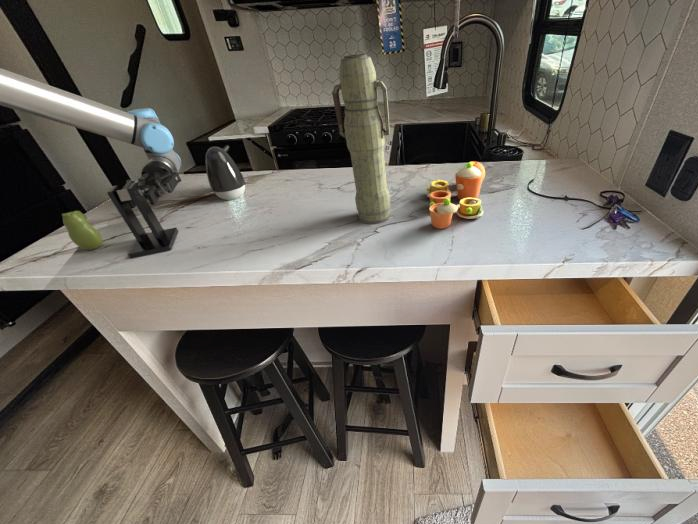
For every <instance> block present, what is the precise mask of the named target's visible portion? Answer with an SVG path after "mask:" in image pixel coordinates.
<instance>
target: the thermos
mask: <svg viewBox="0 0 698 524" xmlns="http://www.w3.org/2000/svg"><path fill="white" fill-rule="evenodd" d="M339 63H340V64H339V72H338V73H339V75H338V76H339V83H338V84H335V85H334V87H333V89H332V92H331V96H332V100H333V101H332V102H333V105H334V112H335V116H336V121H337V126H338V134H339V135H340V136H341V137H343V138H344V139H345V142H346V147H347V150H348V152H349V153H350V154H349V155H350V160H351V166H352V173H353V178H354V179H353V181H354V186H355V192H356V193H355V197H354V199H355V206H356V211H357V214H358V220H359V222H360V223H361V222H362V223H363V224H369V225H373V224H382V223H384V222H386V221H388V220H389V219H391V217H392V212H391V206H392V205H391V194H390V191H389V188H388V185H387V173H386V172H387V171H386V162H385V150H384V149H385V145H386V140H385V137H386V136H389V135H390V132H391V131H390V130H391V129H390V127H391V126H390V115H389V114H390V113H389V101H388V99H389V98H388V88H387V86H386V85H385V83H384V82H383V80H379V79H377V73H376V72H377V71H376V69H375V66H374V63H373V60H372V57H371V56H369V55H367V53H359V54H350V55H343V58H340V62H339ZM378 87H380V89H381V90H382V100H383V111H384V119H383V117H382V114H381V112H380V105H379V104H378V99H379V94H378V93H379V92H378ZM340 90H341V96H342V97H341V98H342V102H343V103H344V108H343V110H344V117H343V112H342V105H341V99H340ZM343 118H344V119H343ZM384 122H385V123H384ZM384 125H385V127H384Z"/></svg>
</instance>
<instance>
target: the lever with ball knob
mask: <svg viewBox="0 0 698 524" xmlns="http://www.w3.org/2000/svg"><path fill="white" fill-rule="evenodd" d="M138 186H139V187H140V189H141V191H142V193H143V195H144V196H145V198H146V200H147V201H149V199H148V198H147V196H146V194H147V193H148V191H149V190H150V188H151V187H150V186H149V185H146V184H140V185H138ZM117 194H118V196H119V198H120V200H121V201H127V200H133V199H132V197H131V195H130V194H129V192H128V190H127V189H123V190H122V189H120V190H117Z"/></svg>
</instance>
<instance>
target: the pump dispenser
mask: <svg viewBox="0 0 698 524" xmlns="http://www.w3.org/2000/svg"><path fill="white" fill-rule="evenodd" d="M230 148H231V147H230V146H229V145H228V144H226V145H225V146H224V147H223V148H221V147H219V146H210V147H209V148H208V149H207V151H206V153H205V173H206V176H207V177H206V178H207V181H208V184H209V186H210V189H211V191H212V192H213V193H214V194H215V195H216V196H217V197H218V198H220V199H222V200H226V201H233V200H237V199H240V197H242V196H243V195H244V193H245V190H246V180H245V178H244V176H243V174H242V172H241V170H240V168H239V167H238V165H237V163H236V162H235V160H234V159H233V158H232V157H231V156H230V154H229V153H228V151H229V150H230Z"/></svg>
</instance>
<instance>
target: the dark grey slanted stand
mask: <svg viewBox="0 0 698 524" xmlns="http://www.w3.org/2000/svg"><path fill="white" fill-rule="evenodd" d="M117 190H121V189H120V187H119V185H112V187H110V188H109V190H107V191H106V194H107V195H108V197H109V199H110V200H111V202H112V204H113V205H114V207H115V208H116V210H117V211H118V213H119V215H120V216H121V218H122V219H123V221H124V222H125V224H126V226H127V227H128V228H129V230H130V232H131V233H132V235H133V236H134V238H135V242H134V243H133V245H132V247H131V248H130V250H129V252H128V253H127V255H128V257H129V259H136V258H140V257H143V256H149V255H154V254H155V255H156V254H159V253H164V252H170V251H172V249H173V247H174V244H175V241H176V239H177V236H178V234H179V230H178V228H177V227H171V228H166V229H164V228H163V227H162V225H161V223H160V221H159V219H158V217H157V215H156V214H155V213H154V210H153V209H152V207H151V205H150V202H149V201H148V200H146V198H145V196H144V195H143V193H142V191H141V189H140V187H139V186H138V184H137V182H135V183H132V184H131V185H130V186H129V187H128V188H127V190H128V192H129V194H130V195H131V197H132V199H133V201H134V202H135V204H136V207H137V210H138V211H139V213H140V215H141V216H142V218H143V220H144V221H145V222H146V224H147V226H148V228H149V230H150V231H151V232H150V231H149V232H146V230H145V228H144V226H143V225H142V224H141V221H140V220H139V219H138V217H137V215H136V214H135V212H134V210H133V209H131V207H130V205H129V204H128V202H127V201H121V200H120V198H119V196H118V194H117Z"/></svg>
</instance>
